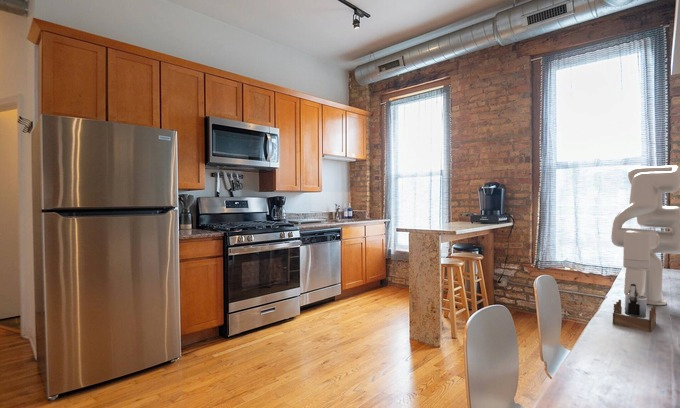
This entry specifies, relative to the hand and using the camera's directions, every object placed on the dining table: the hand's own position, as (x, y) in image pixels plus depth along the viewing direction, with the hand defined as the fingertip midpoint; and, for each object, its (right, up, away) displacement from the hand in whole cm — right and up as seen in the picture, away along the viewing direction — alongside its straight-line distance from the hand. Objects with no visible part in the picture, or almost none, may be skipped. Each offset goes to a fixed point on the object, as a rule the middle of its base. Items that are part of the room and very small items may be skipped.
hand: (635, 312), depth 131 cm
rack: (-1, -4, -1) cm, 4 cm away
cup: (0, -1, 0) cm, 1 cm away
